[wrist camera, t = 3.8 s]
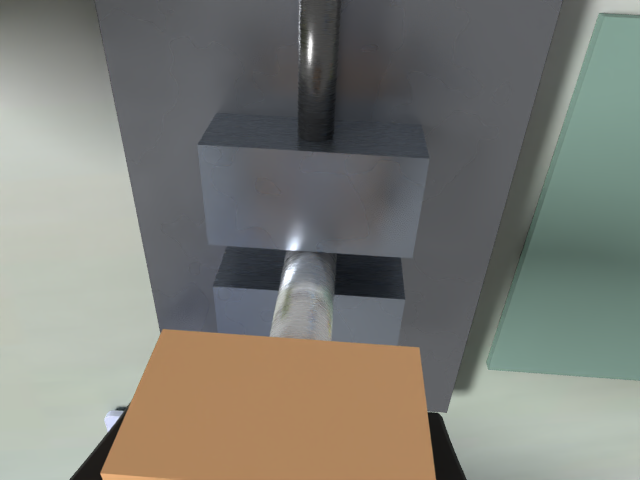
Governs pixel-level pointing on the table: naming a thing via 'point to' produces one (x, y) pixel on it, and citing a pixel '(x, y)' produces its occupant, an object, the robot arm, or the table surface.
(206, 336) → the collar
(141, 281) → the table surface
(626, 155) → the mat
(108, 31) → the vise
